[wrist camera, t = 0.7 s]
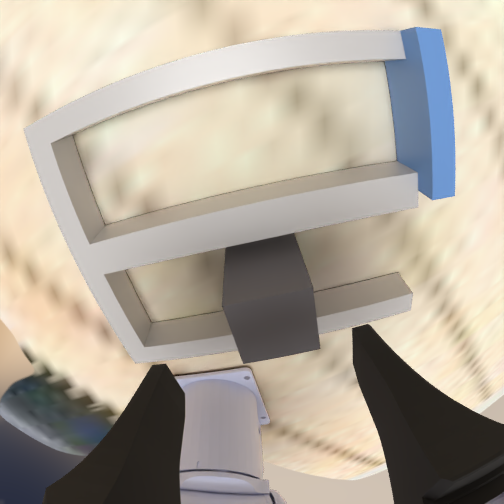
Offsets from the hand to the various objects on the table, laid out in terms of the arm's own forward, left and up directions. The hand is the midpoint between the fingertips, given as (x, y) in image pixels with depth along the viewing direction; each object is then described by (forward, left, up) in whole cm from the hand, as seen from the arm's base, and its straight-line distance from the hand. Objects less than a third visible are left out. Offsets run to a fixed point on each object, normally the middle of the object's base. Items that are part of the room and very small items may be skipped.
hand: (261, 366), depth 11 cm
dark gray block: (-1, -1, -9) cm, 9 cm away
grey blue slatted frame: (+3, -1, -9) cm, 9 cm away
